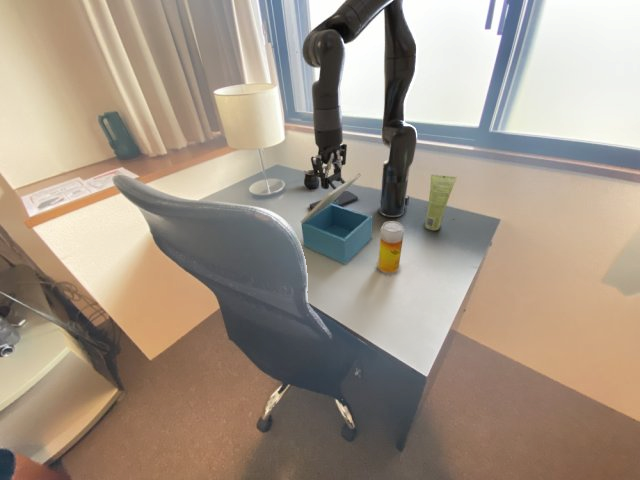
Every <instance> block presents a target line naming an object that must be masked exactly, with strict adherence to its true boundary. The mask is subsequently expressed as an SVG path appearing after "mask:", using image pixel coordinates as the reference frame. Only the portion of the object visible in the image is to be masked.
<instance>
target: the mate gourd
mask: <svg viewBox="0 0 640 480" xmlns="http://www.w3.org/2000/svg"><path fill="white" fill-rule="evenodd" d="M303 172H304V180H303V185H304V187H305V188H306V189H307V190H310V191H314V190H317V189H318V188H319V187H320V177H316V176H315V175H314V171H313V169H308V170H303Z"/></svg>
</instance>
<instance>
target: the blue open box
mask: <svg viewBox="0 0 640 480" xmlns="http://www.w3.org/2000/svg"><path fill="white" fill-rule="evenodd" d="M300 224H301V233H302V241H303V246H304V247H305V248H309V249H311V250H312V251H315V252H317V253H319V254H322V255H324V256H326V257H328V258H330V259H332V260H334V261H337V262H339V263H341V264H343V265H346V264H347V263H348V262H349V261H350V260H351V259H352V258H353V257H354V256H355V255H356V254H357V253H358V252H360V250H362V248H364V247H365V246H366V245H367V244H368V243H369V242H370V241H371V240H372V235H373V233H372V231H373V216H371V215H368V214H366V213H363V212H359V211H356V210H353V209H350V208H347V207H345V206H342V207H341V206H338V205H335V204H329V205H328V206H326V207H325V208H323V209H322V210H321V211H319V212H318V213H316V214H315V215H313V216H312V217H311V218H309V219H308V220H306V221H305V222H303V223H300Z"/></svg>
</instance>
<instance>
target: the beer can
mask: <svg viewBox="0 0 640 480" xmlns="http://www.w3.org/2000/svg"><path fill="white" fill-rule="evenodd" d="M404 235H405V229H404V226H403V224H401V222H399V221H395V220H389V221H385V222H384V223H383V224H382V226H381V227H380V235H379V245H378V258H377V259H378V260H377V267H378V269H379V270H380V271H381V272H382V273H384V274H388V275H389V274H394V273H395V272H397V271H398V270H399V268H400V263H401V262H400V261H401V255H402V247H403V241H404Z"/></svg>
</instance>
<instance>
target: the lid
mask: <svg viewBox="0 0 640 480" xmlns="http://www.w3.org/2000/svg"><path fill="white" fill-rule="evenodd" d="M361 176H362V174H361V173H358V174H356V175H355V176H352V178H350V179H348V180H347V181H345V179H344V178H343V177H342V173H341V174H340V172H336V173H334V172H333V173H332V174H330V175H328V179H329V187H331V188H332V191H330V192H328V193H327V194H326V195H325V196H324V197H323V198H321V199H320V200H321V201H320V200H319V201H320V202H319V203H318V204H317V205H316V206H315V207H314V208H313V209H312V210H311V209H310V211H309V212H308V213H307V214H306V215H305V216H304V217H303V218H302V219H301V220H300V224H302V223H303V222H305V221H306V220H308V219H309V218H311V217H312V216H313V215H315V214H316V213H318V212H319V211H321V210H322V209H323V208H325V207H326V206H328V205H329V204H331V203H332V202H333V201H334V200H335V199H336V198H337V197H338V196H339V195H341V194H342V193H343V192H344V191H347V189H348V188H350V187H351V185H352V184H354V183H355V182H356V181H357V180H358V179H359V178H360V177H361ZM336 179H339V180H340V181H339V182H340V183H341V184H340V185H339V186H338V187H336V185H335V184H334V183H333V182H335V180H336Z"/></svg>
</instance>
